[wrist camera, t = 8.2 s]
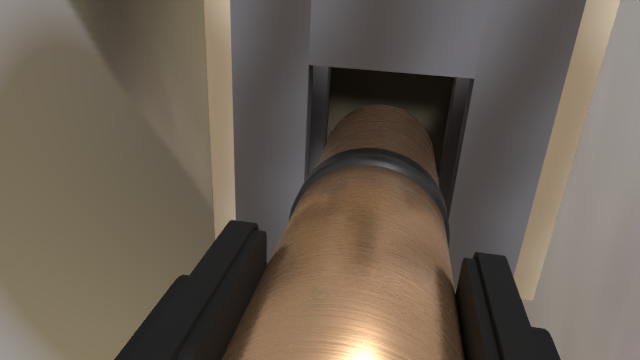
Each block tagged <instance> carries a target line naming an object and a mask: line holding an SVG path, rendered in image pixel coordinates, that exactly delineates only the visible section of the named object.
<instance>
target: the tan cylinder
mask: <svg viewBox="0 0 640 360" xmlns="http://www.w3.org/2000/svg"><path fill="white" fill-rule="evenodd" d="M449 240H450V231H449V223H448V217H447V211H446V206H445V201H444V198H443V195H442V193H441V191H440V189H439V184H438V177H437V170H436V164H435V157H434V151H433V145H432V141H431V138H430V136H429V134H428V132H427V130H426V129H425V127H424V126H423V124H422V123H421V122H420V121H419V120H418V119H417V118H415V117H414V116H413V115H412V114H410V113H408V112H407V111H405V110H403V109H400V108H397V107H394V106H389V105H370V106H365V107H362V108H359V109H357V110H355V111H353V112H351V113H349V114H348V115H347V116H345V117H344V118H343V119H342V120H341V121H340V122H339V123H338V124H337V126H336V127H335V128H334V130H333V132H332V134H331V136H330V138H329V140H328V142H327V144H326V146H325V148H324V150H323V152H322V154H321V156H320V158H319V160H318V162H317V164H316V166H315V169H313V171H312V172H311V173H310V174H309V175H308V177H307V178H306V180H305V182H304V183H303V185H302V187H301V189H300V191H299V193H298V195H297V197H296V199H295V201H294V203H293V206H292V208H291V212H290V216H289V222H288V224H287V226H286V228H285V230H284V232H283V234H282V236H281V238H280V240H279V242H278V244H277V246H276V249H275V251H274V253H273V255H272V257H271V259H270V261H269V263H268V265H267V267H266V269H265V271H264V273H263V275H262V277H261V279H260V281H259V283H258V285H257V287H256V290H255V292H254V294H253V296H252V298H251V300H250V302H249V304H248V306H247V308H246V310H245V312H244V314H243V316H242V318H241V320H240V322H239V324H238V326H237V329H236V331H235V333H234V335H233V337H232V339H231V341H230V343H229V345H228V347H227V349H226V351H225V353H224V355H223V357H222V359H221V360H465V356H464V349H463V343H462V336H461V330H460V323H459V316H458V310H457V303H456V296H455V290H454V283H453V276H452V270H451V263H450V257H449V250H448V248H449Z"/></svg>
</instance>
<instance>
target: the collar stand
mask: <svg viewBox="0 0 640 360" xmlns="http://www.w3.org/2000/svg"><path fill="white" fill-rule="evenodd" d="M619 3H620V0H204V13H205V34H206V55H207V76H208V98H209V119H210V140H211V161H212V182H213V203H214V224H215V240H216V239H217V237H218V236H219V234H220V233H221V232H222V230H223V229H224V228H225V226H226V225H227V224H228V222H229V221H230V220H237V221H245V222H252V223H257V224H258V227H259V230H261V231H266V234H267V263H269V261H270V259H271V257H272V255H273V253H274V251H275V249H276V246H277V244H278V242H279V240H280V238H281V236H282V234H283V232H284V230H285V228H286V226H287V224H288V222H289V216H290V212H291V208H292V206H293V203H294V201H295V199H296V197H297V195H298V193H299V191H300V189H301V187H302V185H303V183H304V182H305V180H306V178H307V177H308V175H309V174H310V173H311V172H312V171H313V169H315V166H316V164H317V162H318V160H319V158H320V156H321V154H322V152H323V150H324V148H325V146H326V143H327V127H328V110H329V93H330V76H331V67H339V68H351V69H363V70H375V71H387V72H399V73H411V74H424V75H436V76H448V77H454V82H453V88H452V94H451V100H450V106H449V112H448V118H447V124H446V130H445V136H444V142H443V148H442V154H441V160H440V166H439V171H437V177H438V184H439V189H440V191H441V193H442V195H443V198H444V201H445V206H446V211H447V217H448V223H449V231H450V240H449V248H448V250H449V257H450V263H451V270H452V276H453V283H454V289H455V290H456V289H457V285H458V280H459V275H460V270H461V265H462V261H463V259H464V258H472V259H473V256H474V253H475V252H481V253H489V254H497V255H504V256H506V258H507V261H508V263H509V266H510V269H511V272H512V275H513V278H514V280H515V283H516V286H517V289H518V292H519V295H520V297H521V299H525V300H532V301H533V298H534V295H535V292H536V288H537V285H538V281H539V278H540V274H541V271H542V267H543V264H544V261H545V257H546V254H547V250H548V247H549V243H550V240H551V237H552V233H553V230H554V226H555V223H556V219H557V216H558V213H559V209H560V206H561V202H562V199H563V195H564V192H565V189H566V185H567V182H568V178H569V175H570V171H571V168H572V164H573V161H574V158H575V154H576V151H577V147H578V144H579V140H580V137H581V134H582V130H583V127H584V123H585V120H586V116H587V113H588V110H589V106H590V103H591V99H592V96H593V92H594V89H595V86H596V82H597V79H598V75H599V72H600V68H601V65H602V62H603V58H604V55H605V51H606V48H607V44H608V41H609V37H610V34H611V31H612V27H613V24H614V20H615V17H616V13H617V10H618V7H619Z"/></svg>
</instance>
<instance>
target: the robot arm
mask: <svg viewBox="0 0 640 360" xmlns="http://www.w3.org/2000/svg"><path fill="white" fill-rule="evenodd" d="M266 267H267V234H266V231H261V230H259V227H258V224H257V223H252V222H245V221H237V220H230V221H229V222H228V224H227V225H226V226H225V228H224V229H223V230H222V232H221V233H220V234H219V236H218V237H217V239H216V240H215V242H214V243H213V244H212V246H211V247H210V248H209V250H208V251H207V252H206V254H205V255H204V256H203V258H202V259H201V260H200V262H199V263H198V264H197V266H196V267H195V269H194V270H193V271H192V273H191V274H190V275H189V276H188V275H182V276H179V277H178V278H177V279H176V280H175V281H174V283H173V284H172V285H171V286H170V288H169V289H168V290H167V292H166V293H165V294H164V296H163V297H162V298H161V299H160V301H159V302H158V304H157V305H156V306H155V307H154V309H153V310H152V311H151V313H150V314H149V315H148V316H147V318H146V319H145V320H144V322H143V323H142V324H141V326H140V327H139V328H138V330H137V331H136V332H135V333H134V335H133V336H132V337H131V339H130V340H129V341H128V343H127V344H126V345H125V346H124V348H123V349H122V350H121V352H120V353H119V354H118V356H117V357H116V358H115V359H114V360H221V359H222V357H223V355H224V353H225V351H226V349H227V347H228V345H229V343H230V341H231V339H232V337H233V335H234V333H235V331H236V329H237V326H238V324H239V322H240V320H241V318H242V316H243V314H244V312H245V310H246V308H247V306H248V304H249V302H250V300H251V298H252V296H253V294H254V292H255V290H256V287H257V285H258V283H259V281H260V279H261V277H262V275H263V273H264V271H265V269H266ZM455 296H456V303H457V310H458V316H459V323H460V330H461V336H462V343H463V349H464V356H465V360H561V359H560V357H559V354H558V352H557V349H556V347H555V344H554V342H553V339H552V337H551V335H550V334H549V332H548V331H547V330H545V329H542V328H535V327H531V326H530V323H529V320H528V317H527V314H526V312H525V309H524V306H523V303H522V300H521V297H520V295H519V292H518V289H517V286H516V283H515V280H514V278H513V275H512V272H511V269H510V266H509V263H508V261H507V258H506V256H504V255H497V254H489V253H481V252H475V253H474V256H473V259H472V258H464V259H463V261H462V265H461V270H460V275H459V280H458V285H457V289H456V294H455Z"/></svg>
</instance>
